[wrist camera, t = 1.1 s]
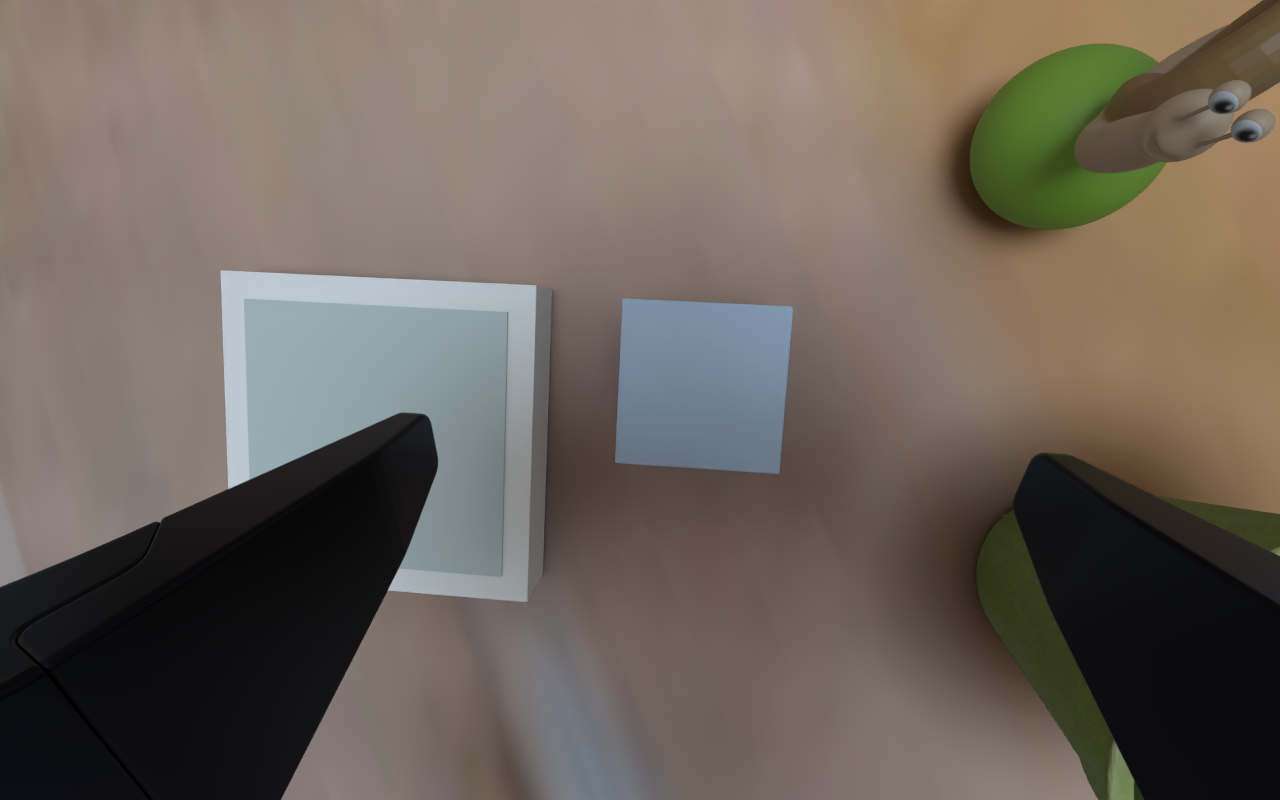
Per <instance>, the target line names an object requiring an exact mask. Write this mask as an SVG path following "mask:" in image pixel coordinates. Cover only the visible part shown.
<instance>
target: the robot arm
mask: <svg viewBox="0 0 1280 800" xmlns="http://www.w3.org/2000/svg"><path fill="white" fill-rule="evenodd" d="M437 469H438V454H437V449H436V444H435V439H434V434H433V429H432V424H431V421H430V419H429V417H428V416H427V415H425V414H421V413H406V412H402V413H398V414H395V415H393V416H391V417H389V418H387V419H384V420H382V421H380V422H378V423H375V424H373V425H371V426H369V427H366V428H364V429H362V430H360V431H357V432H355V433H353V434H351V435H348V436H346V437H344V438H342V439H339V440H337V441H335V442H333V443H330V444H328V445H326V446H324V447H322V448H319V449H317V450H315V451H313V452H310V453H308V454H306V455H304V456H301V457H299V458H297V459H295V460H292V461H290V462H288V463H286V464H283V465H281V466H279V467H277V468H274V469H272V470H270V471H268V472H265V473H263V474H261V475H259V476H257V477H254V478H252V479H250V480H248V481H245V482H243V483H241V484H239V485H236V486H234V487H232V488H230V489H227V490H225V491H223V492H221V493H218V494H216V495H214V496H212V497H209V498H207V499H205V500H203V501H201V502H198V503H196V504H194V505H192V506H189V507H187V508H185V509H183V510H180V511H178V512H176V513H174V514H171V515H169V516H167V517H165V518H163V519H162V520H161V523H160V522H153V523H151V524H149V525H146V526H144V527H142V528H140V529H137V530H135V531H133V532H131V533H129V534H126V535H124V536H122V537H119V538H117V539H115V540H112V541H110V542H108V543H106V544H103V545H101V546H99V547H96V548H94V549H92V550H89V551H87V552H85V553H82V554H80V555H78V556H75V557H73V558H71V559H68V560H66V561H63V562H61V563H58V564H56V565H54V566H51V567H49V568H46V569H44V570H41V571H39V572H36V573H34V574H31V575H29V576H26V577H24V578H22V579H19V580H17V581H14V582H12V583H9V584H7V585H4V586H2V587H0V800H281V798H282V796H283V794H284V792H285V791H286V789H287V787H288V785H289V783H290V781H291V779H292V777H293V775H294V773H295V771H296V769H297V767H298V765H299V763H300V761H301V759H302V757H303V755H304V753H305V751H306V749H307V747H308V745H309V744H310V742H311V740H312V738H313V736H314V734H315V732H316V730H317V728H318V726H319V724H320V722H321V720H322V718H323V716H324V714H325V712H326V710H327V708H328V706H329V704H330V702H331V700H332V699H333V697H334V695H335V693H336V691H337V689H338V687H339V685H340V683H341V681H342V679H343V677H344V675H345V673H346V671H347V669H348V667H349V665H350V663H351V661H352V659H353V657H354V655H355V654H356V652H357V650H358V648H359V646H360V644H361V642H362V640H363V638H364V636H365V634H366V632H367V630H368V628H369V626H370V624H371V622H372V620H373V618H374V616H375V614H376V612H377V610H378V609H379V607H380V605H381V603H382V601H383V599H384V597H385V595H386V593H387V591H388V589H389V587H390V585H391V583H392V581H393V579H394V577H395V575H396V573H397V571H398V569H399V567H400V565H401V563H402V561H403V559H404V557H405V555H406V552H407V550H408V548H409V545H410V543H411V540H412V537H413V535H414V532H415V529H416V527H417V524H418V521H419V519H420V516H421V513H422V511H423V508H424V505H425V503H426V500H427V497H428V495H429V492H430V489H431V487H432V484H433V481H434V478H435V476H436V473H437ZM1013 510H1014V514H1015V517H1016V520H1017V523H1018V526H1019V528H1020V531H1021V534H1022V537H1023V539H1024V542H1025V545H1026V548H1027V550H1028V553H1029V556H1030V559H1031V561H1032V564H1033V567H1034V569H1035V572H1036V575H1037V578H1038V580H1039V583H1040V586H1041V589H1042V591H1043V594H1044V596H1045V599H1046V601H1047V604H1048V606H1049V608H1050V611H1051V613H1052V615H1053V617H1054V619H1055V621H1056V624H1057V626H1058V628H1059V630H1060V632H1061V634H1062V636H1063V638H1064V640H1065V642H1066V644H1067V646H1068V648H1069V650H1070V652H1071V654H1072V656H1073V658H1074V660H1075V662H1076V664H1077V666H1078V668H1079V670H1080V672H1081V674H1082V676H1083V678H1084V680H1085V682H1086V684H1087V686H1088V688H1089V690H1090V692H1091V694H1092V696H1093V698H1094V700H1095V702H1096V704H1097V706H1098V708H1099V711H1100V713H1101V715H1102V717H1103V719H1104V721H1105V723H1106V725H1107V727H1108V729H1109V731H1110V733H1111V735H1112V737H1113V739H1114V741H1115V743H1116V745H1117V747H1118V749H1119V751H1120V753H1121V755H1122V757H1123V759H1124V761H1125V763H1126V765H1127V767H1128V769H1129V771H1130V773H1131V775H1132V777H1133V779H1134V781H1135V783H1136V785H1137V787H1138V789H1139V791H1140V793H1141V795H1142V797H1143V799H1144V800H1280V556H1279V555H1277V554H1275V553H1273V552H1271V551H1269V550H1266V549H1264V548H1262V547H1260V546H1258V545H1256V544H1254V543H1252V542H1250V541H1248V540H1246V539H1244V538H1242V537H1240V536H1237V535H1235V534H1233V533H1231V532H1229V531H1227V530H1225V529H1223V528H1221V527H1219V526H1217V525H1215V524H1213V523H1210V522H1208V521H1206V520H1204V519H1202V518H1200V517H1198V516H1196V515H1194V514H1192V513H1190V512H1188V511H1186V510H1183V509H1181V508H1179V507H1177V506H1175V505H1173V504H1171V503H1169V502H1167V501H1165V500H1163V499H1161V498H1159V497H1156V496H1154V495H1152V494H1150V493H1148V492H1146V491H1144V490H1142V489H1140V488H1138V487H1136V486H1134V485H1132V484H1130V483H1127V482H1125V481H1123V480H1121V479H1119V478H1117V477H1115V476H1113V475H1111V474H1109V473H1107V472H1105V471H1103V470H1100V469H1098V468H1096V467H1094V466H1092V465H1090V464H1088V463H1086V462H1084V461H1082V460H1080V459H1078V458H1076V457H1073V456H1071V455H1066V454H1052V453H1040V454H1037V455H1035V456H1034V457H1033V458H1032V459H1031V461H1030V463H1029V465H1028V467H1027V469H1026V472H1025V474H1024V476H1023V478H1022V481H1021V483H1020V485H1019V487H1018V490H1017V492H1016V494H1015V497H1014V501H1013Z"/></svg>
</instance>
